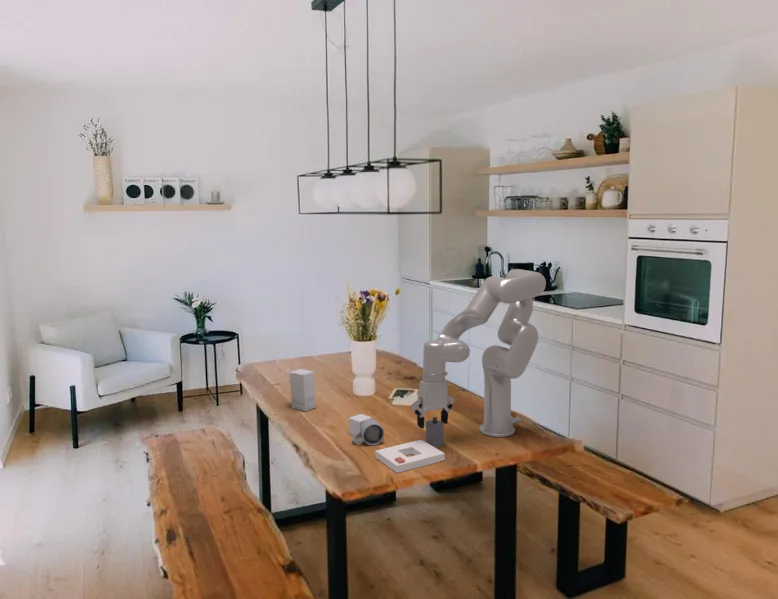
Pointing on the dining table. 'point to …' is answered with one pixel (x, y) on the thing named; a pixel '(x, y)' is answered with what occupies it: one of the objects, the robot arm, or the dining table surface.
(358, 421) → the light grey cube
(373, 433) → the ceramic mug
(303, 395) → the skincare box
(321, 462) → the dining table surface
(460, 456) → the dining table surface
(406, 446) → the socket plate
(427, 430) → the plug
